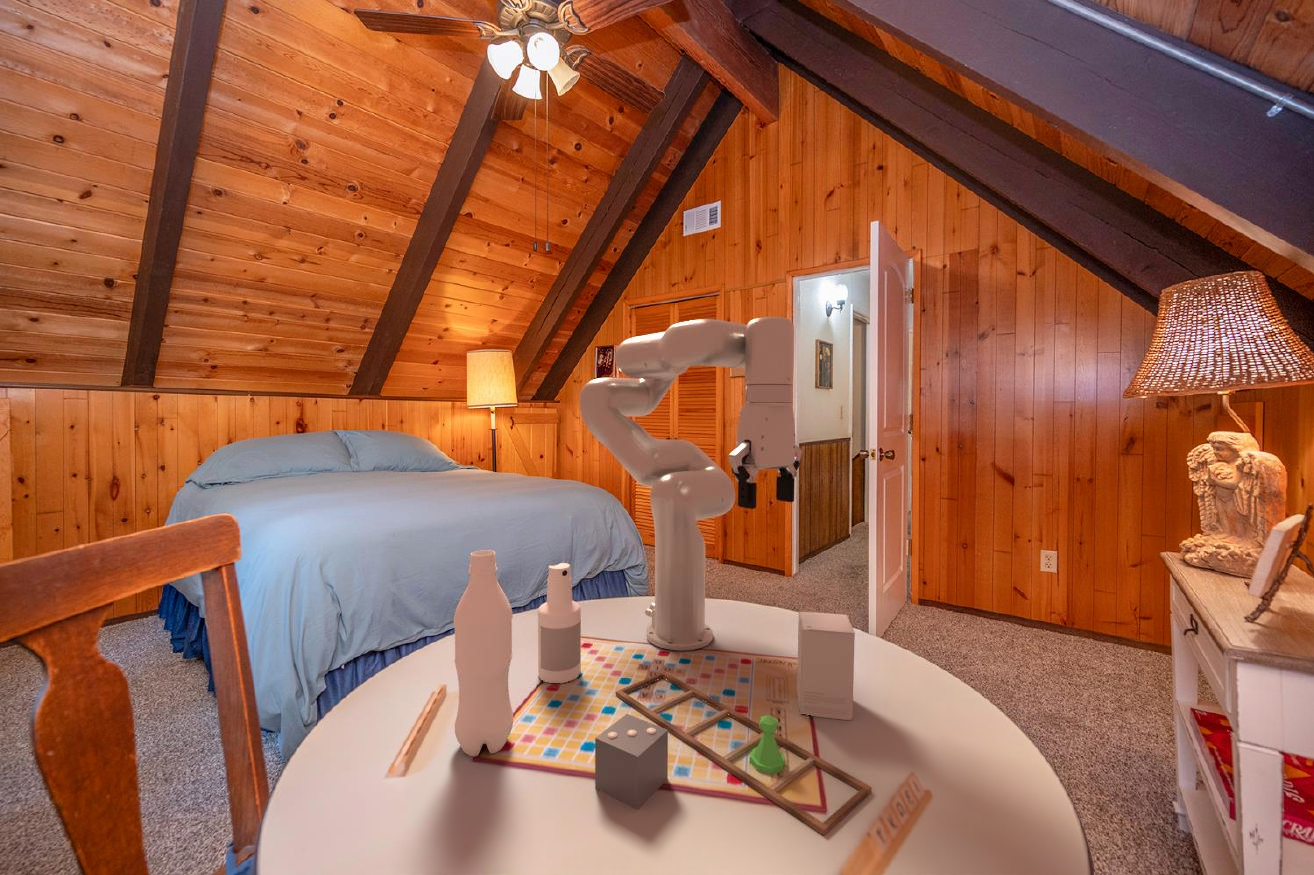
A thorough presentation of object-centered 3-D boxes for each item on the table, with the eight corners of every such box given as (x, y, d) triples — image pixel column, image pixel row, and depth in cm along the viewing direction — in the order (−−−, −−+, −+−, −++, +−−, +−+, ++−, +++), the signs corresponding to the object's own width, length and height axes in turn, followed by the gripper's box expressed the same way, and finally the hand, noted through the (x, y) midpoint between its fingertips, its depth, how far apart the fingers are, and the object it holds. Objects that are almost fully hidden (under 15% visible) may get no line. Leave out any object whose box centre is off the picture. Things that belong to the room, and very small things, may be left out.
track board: (615, 695, 82) (615, 691, 82) (664, 675, 89) (664, 671, 89) (823, 835, 55) (823, 830, 55) (871, 792, 62) (871, 786, 62)
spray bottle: (551, 689, 84) (551, 574, 83) (530, 673, 89) (530, 564, 88) (588, 675, 88) (588, 566, 87) (566, 660, 93) (566, 557, 93)
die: (595, 788, 62) (595, 736, 62) (626, 760, 67) (626, 712, 67) (637, 810, 59) (637, 755, 58) (667, 779, 64) (667, 728, 63)
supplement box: (853, 722, 76) (856, 633, 75) (798, 715, 77) (800, 628, 77) (846, 694, 83) (848, 613, 82) (796, 689, 84) (797, 609, 84)
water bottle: (524, 734, 72) (523, 548, 71) (490, 767, 65) (489, 563, 64) (479, 723, 75) (477, 543, 73) (442, 754, 68) (440, 557, 66)
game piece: (747, 751, 69) (748, 705, 69) (781, 752, 69) (782, 706, 69) (752, 773, 65) (753, 725, 64) (788, 774, 65) (789, 726, 64)
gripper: (782, 398, 95) (780, 496, 95) (713, 396, 83) (712, 507, 84) (819, 398, 89) (817, 501, 90) (752, 395, 78) (750, 514, 78)
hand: (766, 504), depth 87 cm, fingers open, 9 cm apart
